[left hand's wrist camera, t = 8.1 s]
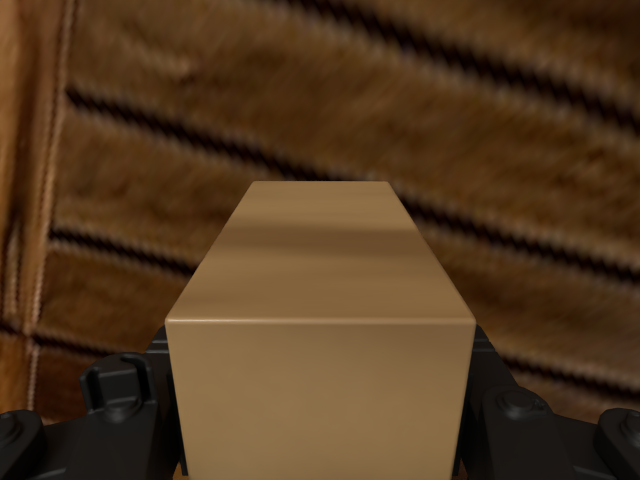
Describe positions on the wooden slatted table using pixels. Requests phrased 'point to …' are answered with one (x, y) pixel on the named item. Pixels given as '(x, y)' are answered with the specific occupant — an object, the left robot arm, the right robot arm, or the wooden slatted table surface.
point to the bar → (320, 342)
